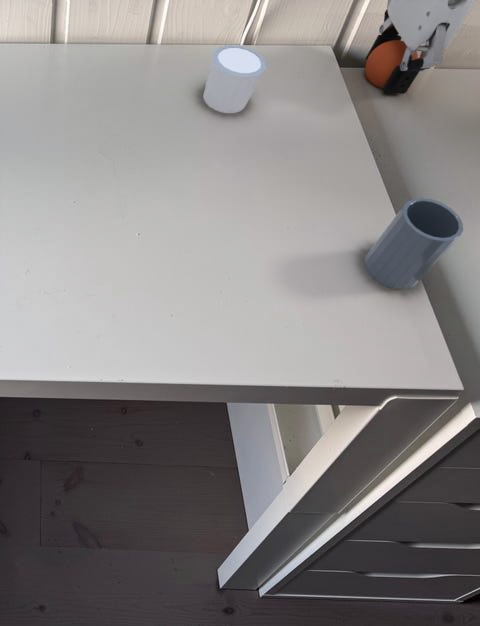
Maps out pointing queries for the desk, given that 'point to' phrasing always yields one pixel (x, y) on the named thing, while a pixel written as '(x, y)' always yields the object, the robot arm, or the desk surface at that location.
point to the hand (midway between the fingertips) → (385, 75)
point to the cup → (413, 243)
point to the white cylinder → (233, 78)
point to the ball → (385, 61)
